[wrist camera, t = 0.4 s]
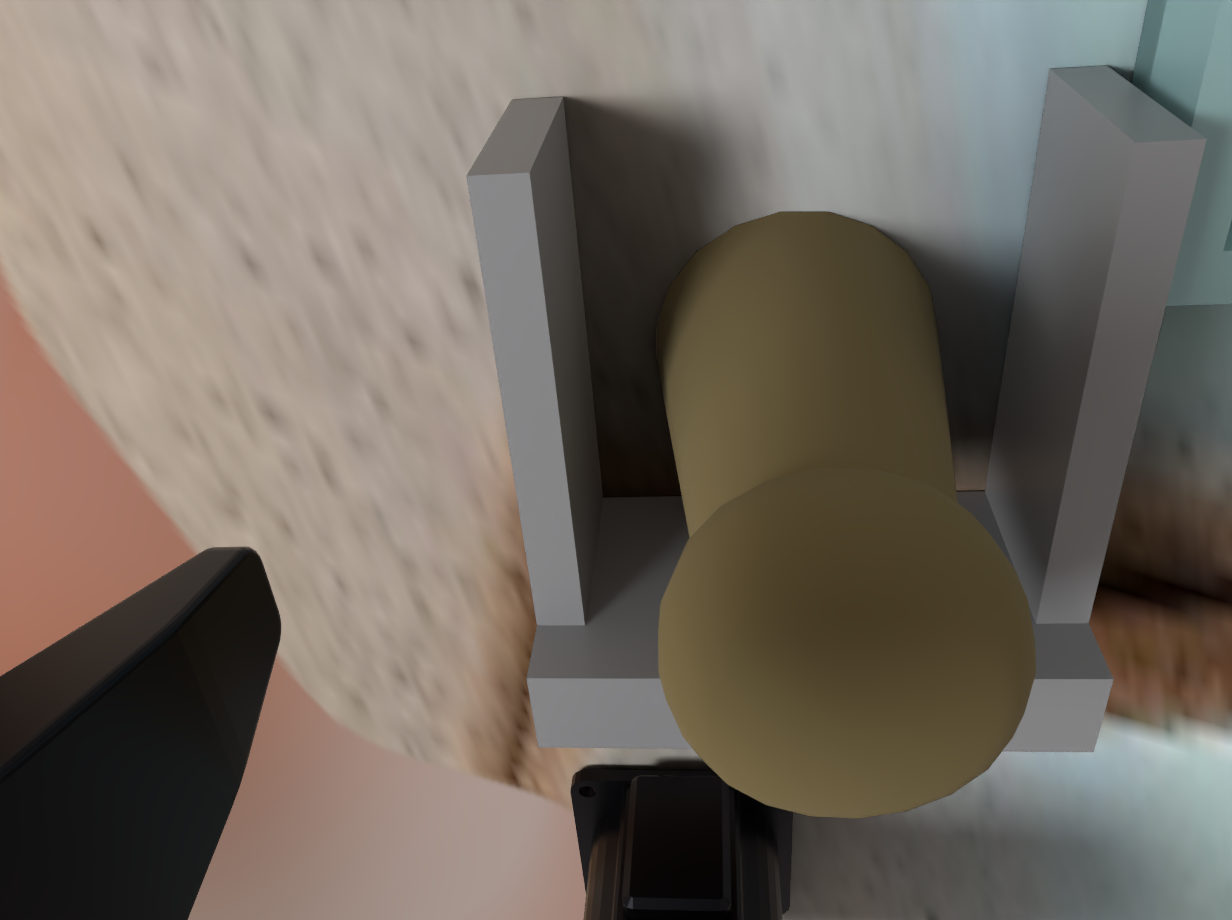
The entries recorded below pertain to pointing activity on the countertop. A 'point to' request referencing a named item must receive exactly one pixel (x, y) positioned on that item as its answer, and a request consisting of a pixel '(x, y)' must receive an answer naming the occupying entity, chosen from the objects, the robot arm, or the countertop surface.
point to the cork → (827, 531)
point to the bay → (1008, 508)
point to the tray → (1214, 107)
